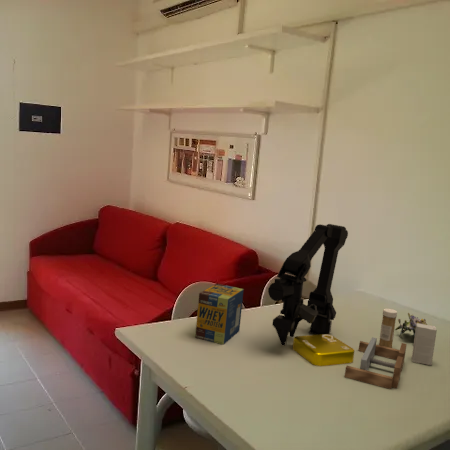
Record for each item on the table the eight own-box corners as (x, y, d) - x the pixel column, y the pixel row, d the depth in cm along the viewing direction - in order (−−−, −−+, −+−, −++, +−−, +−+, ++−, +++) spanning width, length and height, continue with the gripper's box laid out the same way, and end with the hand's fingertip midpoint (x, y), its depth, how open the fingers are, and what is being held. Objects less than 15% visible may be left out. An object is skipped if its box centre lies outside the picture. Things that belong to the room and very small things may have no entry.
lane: (344, 376, 144) (347, 357, 143) (359, 349, 167) (361, 332, 166) (396, 390, 138) (399, 370, 138) (404, 360, 161) (407, 342, 160)
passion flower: (418, 356, 180) (426, 338, 171) (388, 344, 184) (394, 325, 176) (426, 333, 186) (434, 314, 178) (397, 322, 191) (404, 303, 182)
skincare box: (430, 361, 162) (436, 326, 161) (431, 366, 158) (437, 330, 157) (411, 357, 164) (416, 322, 162) (411, 361, 160) (416, 326, 158)
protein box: (194, 338, 164) (198, 292, 161) (213, 324, 178) (216, 283, 176) (223, 345, 160) (228, 299, 158) (240, 331, 174) (244, 288, 172)
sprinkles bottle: (394, 349, 170) (400, 311, 168) (386, 351, 167) (391, 313, 166) (383, 344, 174) (389, 307, 172) (375, 346, 171) (380, 308, 169)
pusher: (358, 377, 144) (361, 359, 144) (369, 353, 164) (372, 337, 163) (396, 386, 140) (399, 368, 139) (403, 361, 159) (405, 344, 159)
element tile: (290, 348, 163) (291, 334, 163) (327, 345, 169) (329, 331, 169) (315, 368, 150) (317, 353, 149) (355, 363, 156) (357, 349, 155)
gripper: (309, 307, 150) (303, 356, 152) (323, 294, 167) (318, 338, 169) (274, 300, 155) (269, 347, 157) (292, 287, 171) (287, 331, 174)
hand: (287, 341), depth 164 cm, fingers open, 9 cm apart
